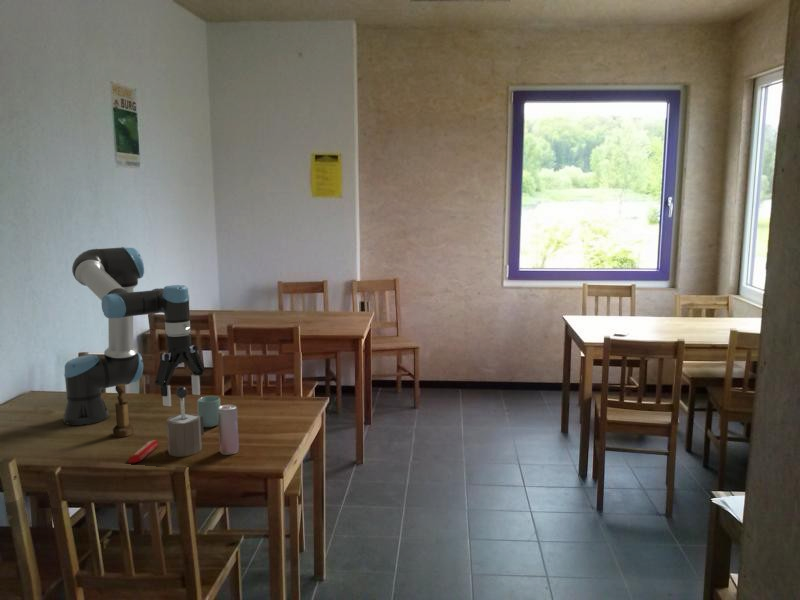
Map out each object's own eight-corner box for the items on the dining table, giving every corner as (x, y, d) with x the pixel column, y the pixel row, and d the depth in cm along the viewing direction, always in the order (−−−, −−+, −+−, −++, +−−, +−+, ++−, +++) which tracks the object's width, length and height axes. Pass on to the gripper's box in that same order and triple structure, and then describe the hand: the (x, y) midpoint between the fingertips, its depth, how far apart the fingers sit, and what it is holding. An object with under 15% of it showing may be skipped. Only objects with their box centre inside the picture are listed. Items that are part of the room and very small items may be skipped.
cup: (214, 430, 225) (213, 402, 224) (194, 428, 227) (193, 401, 225) (224, 422, 233) (223, 396, 231) (205, 421, 234) (204, 395, 233)
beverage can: (221, 448, 208) (219, 404, 206) (240, 448, 208) (238, 403, 206) (218, 455, 202) (215, 410, 200) (237, 455, 202) (235, 409, 200)
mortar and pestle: (137, 431, 224) (134, 382, 221) (124, 438, 218) (120, 387, 215) (122, 429, 226) (119, 380, 224) (109, 436, 220) (105, 385, 217)
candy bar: (149, 446, 211) (148, 437, 211) (160, 446, 211) (159, 437, 210) (126, 465, 195) (125, 456, 195) (138, 466, 195) (137, 456, 195)
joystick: (169, 446, 204) (165, 388, 202) (184, 439, 211) (181, 382, 208) (185, 449, 202) (181, 390, 199) (200, 442, 208) (197, 385, 205)
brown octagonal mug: (162, 453, 204) (159, 421, 202) (191, 439, 216) (189, 409, 214) (185, 458, 200) (183, 425, 198) (214, 444, 212) (212, 413, 210)
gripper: (157, 342, 188) (162, 412, 191) (213, 328, 210) (217, 391, 213) (139, 340, 191) (143, 409, 195) (196, 326, 213) (199, 388, 216)
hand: (182, 400), depth 204 cm, fingers open, 12 cm apart
